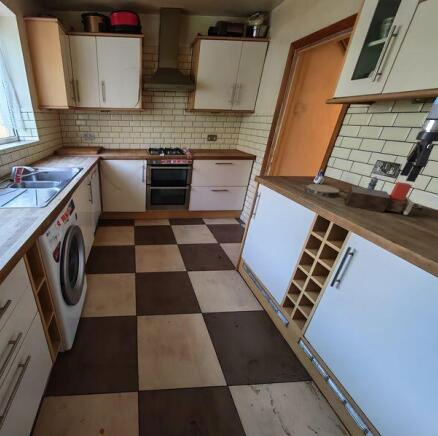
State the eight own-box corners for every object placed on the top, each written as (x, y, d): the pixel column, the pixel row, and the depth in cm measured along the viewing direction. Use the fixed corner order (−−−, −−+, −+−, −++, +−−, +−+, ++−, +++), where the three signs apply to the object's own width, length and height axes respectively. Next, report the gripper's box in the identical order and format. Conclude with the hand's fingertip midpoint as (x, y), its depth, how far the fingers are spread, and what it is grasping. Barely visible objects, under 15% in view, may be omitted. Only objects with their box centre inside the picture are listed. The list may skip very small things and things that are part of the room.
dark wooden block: (379, 204, 123) (386, 191, 119) (383, 212, 113) (391, 198, 110) (345, 198, 131) (351, 185, 127) (346, 205, 121) (352, 191, 117)
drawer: (413, 209, 115) (420, 198, 113) (420, 217, 106) (427, 206, 104) (367, 201, 125) (372, 191, 122) (370, 207, 116) (375, 197, 113)
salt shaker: (361, 193, 139) (370, 174, 134) (374, 196, 135) (383, 176, 130) (359, 195, 136) (368, 176, 130) (372, 198, 132) (382, 178, 126)
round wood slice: (344, 197, 132) (346, 192, 131) (318, 197, 132) (320, 192, 130) (324, 188, 147) (325, 184, 145) (300, 188, 146) (302, 184, 145)
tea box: (397, 206, 116) (409, 183, 110) (399, 209, 112) (411, 185, 107) (385, 204, 118) (396, 181, 113) (386, 206, 115) (398, 183, 110)
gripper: (413, 129, 111) (391, 172, 120) (428, 132, 93) (401, 182, 102) (435, 130, 107) (411, 174, 116) (456, 133, 89) (425, 185, 98)
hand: (406, 178), depth 109 cm, fingers open, 13 cm apart
